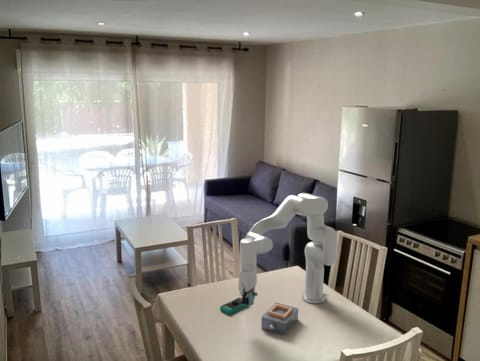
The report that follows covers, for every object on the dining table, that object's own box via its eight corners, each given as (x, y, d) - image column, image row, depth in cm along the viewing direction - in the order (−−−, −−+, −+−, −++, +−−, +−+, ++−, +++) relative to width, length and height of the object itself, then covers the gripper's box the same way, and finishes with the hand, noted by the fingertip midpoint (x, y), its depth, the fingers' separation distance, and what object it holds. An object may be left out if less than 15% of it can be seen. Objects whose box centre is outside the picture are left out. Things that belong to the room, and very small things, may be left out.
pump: (246, 299, 205) (246, 286, 203) (259, 302, 202) (259, 289, 200) (241, 304, 201) (241, 290, 199) (254, 307, 197) (254, 293, 196)
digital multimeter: (249, 306, 226) (249, 300, 225) (229, 316, 215) (229, 310, 215) (239, 301, 231) (239, 296, 230) (219, 311, 220) (219, 305, 220)
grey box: (275, 313, 217) (275, 299, 216) (297, 319, 212) (298, 305, 210) (259, 330, 202) (259, 315, 200) (283, 337, 196) (283, 322, 195)
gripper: (249, 257, 206) (249, 292, 210) (231, 270, 192) (232, 307, 196) (263, 260, 203) (263, 295, 207) (246, 274, 188) (246, 312, 192)
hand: (248, 301), depth 201 cm, fingers closed on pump, 5 cm apart
